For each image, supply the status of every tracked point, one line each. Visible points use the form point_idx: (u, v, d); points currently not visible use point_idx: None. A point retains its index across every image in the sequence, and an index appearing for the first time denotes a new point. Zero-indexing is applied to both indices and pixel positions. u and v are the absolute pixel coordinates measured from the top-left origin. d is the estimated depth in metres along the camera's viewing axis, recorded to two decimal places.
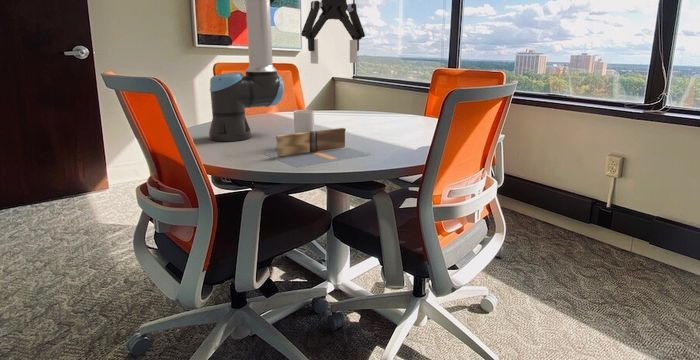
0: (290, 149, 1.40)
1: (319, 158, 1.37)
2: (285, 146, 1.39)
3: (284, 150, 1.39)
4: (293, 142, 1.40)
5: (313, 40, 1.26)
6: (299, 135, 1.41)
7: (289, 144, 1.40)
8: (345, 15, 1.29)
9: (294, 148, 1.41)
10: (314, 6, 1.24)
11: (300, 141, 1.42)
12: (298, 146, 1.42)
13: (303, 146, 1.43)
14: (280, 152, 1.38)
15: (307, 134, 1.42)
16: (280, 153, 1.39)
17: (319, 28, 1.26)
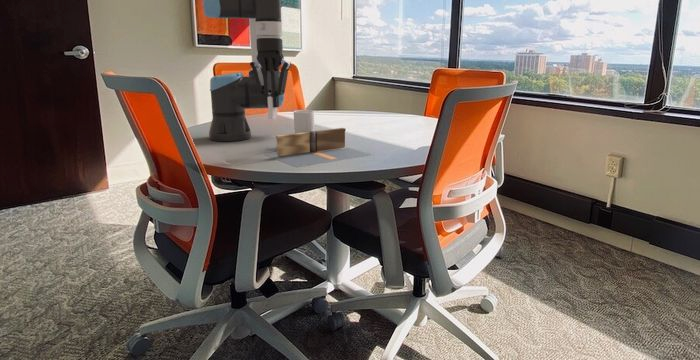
0: (290, 149, 1.40)
1: (319, 158, 1.37)
2: (285, 146, 1.39)
3: (284, 150, 1.39)
4: (293, 142, 1.40)
5: (267, 97, 1.39)
6: (299, 135, 1.41)
7: (289, 144, 1.40)
8: (271, 68, 1.35)
9: (294, 148, 1.41)
10: None
11: (300, 141, 1.42)
12: (298, 146, 1.42)
13: (303, 146, 1.43)
14: (280, 152, 1.38)
15: (307, 134, 1.42)
16: (280, 153, 1.39)
17: (266, 84, 1.38)
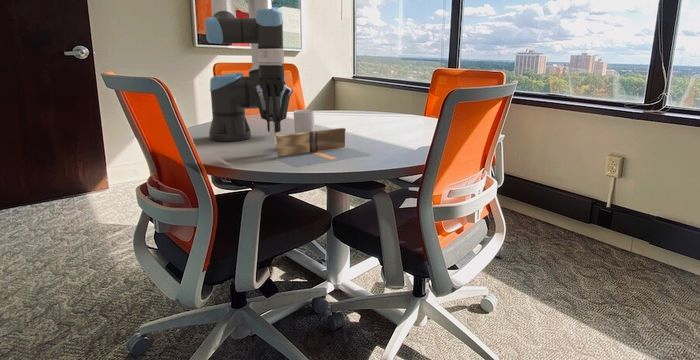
0: (290, 149, 1.40)
1: (319, 158, 1.37)
2: (285, 146, 1.39)
3: (284, 150, 1.39)
4: (293, 142, 1.40)
5: None
6: (299, 135, 1.41)
7: (289, 144, 1.40)
8: (273, 94, 1.37)
9: (294, 148, 1.41)
10: None
11: (300, 141, 1.42)
12: (298, 146, 1.42)
13: (303, 146, 1.43)
14: (280, 152, 1.38)
15: (307, 134, 1.42)
16: (280, 153, 1.39)
17: (267, 110, 1.40)
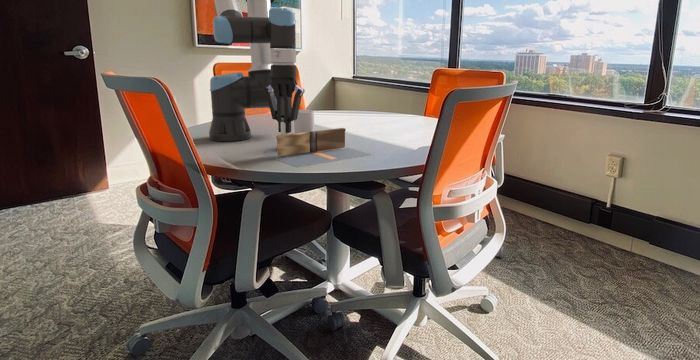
0: (290, 149, 1.40)
1: (319, 158, 1.37)
2: (285, 146, 1.39)
3: (284, 150, 1.39)
4: (293, 142, 1.40)
5: (280, 123, 1.40)
6: (299, 135, 1.41)
7: (289, 144, 1.40)
8: (284, 94, 1.36)
9: (294, 148, 1.41)
10: None
11: (300, 141, 1.42)
12: (298, 146, 1.42)
13: (303, 146, 1.43)
14: (280, 152, 1.38)
15: (307, 134, 1.42)
16: (280, 153, 1.38)
17: (279, 110, 1.38)
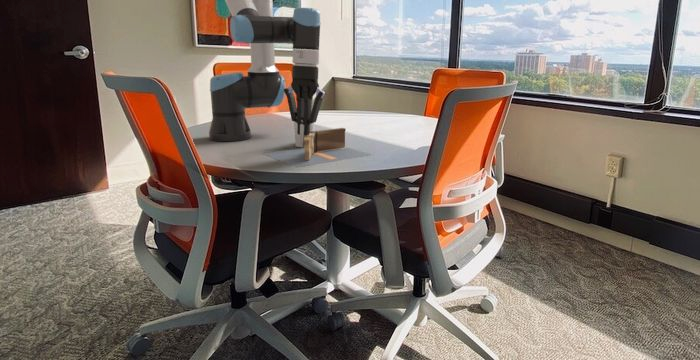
0: (310, 151, 1.38)
1: (319, 158, 1.37)
2: (309, 149, 1.36)
3: (309, 153, 1.36)
4: (311, 144, 1.38)
5: (300, 125, 1.37)
6: (313, 136, 1.39)
7: (310, 146, 1.37)
8: (305, 96, 1.33)
9: (311, 150, 1.39)
10: None
11: (312, 142, 1.40)
12: (312, 147, 1.40)
13: (312, 147, 1.42)
14: (309, 155, 1.34)
15: (314, 134, 1.42)
16: (309, 156, 1.34)
17: (299, 112, 1.35)
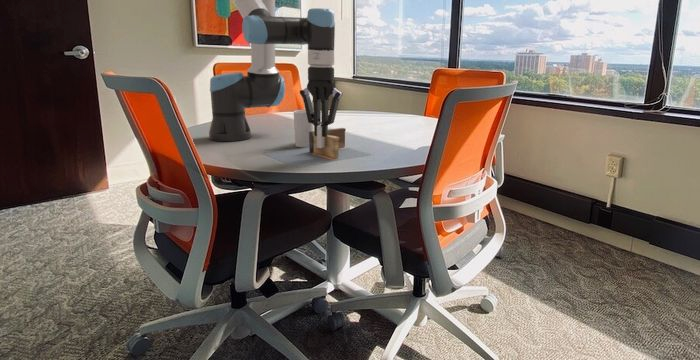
0: None
1: (319, 158, 1.37)
2: None
3: None
4: None
5: (317, 126, 1.36)
6: None
7: None
8: (322, 97, 1.32)
9: None
10: None
11: None
12: None
13: None
14: None
15: None
16: None
17: (315, 113, 1.34)
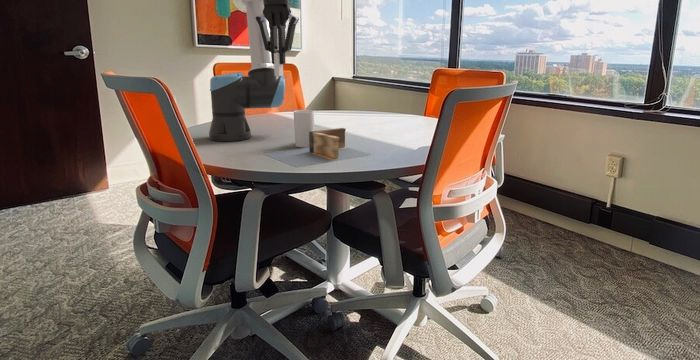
0: None
1: (319, 158, 1.37)
2: None
3: None
4: None
5: (274, 54, 1.35)
6: None
7: None
8: (278, 23, 1.31)
9: None
10: None
11: None
12: None
13: None
14: None
15: None
16: None
17: (272, 40, 1.34)
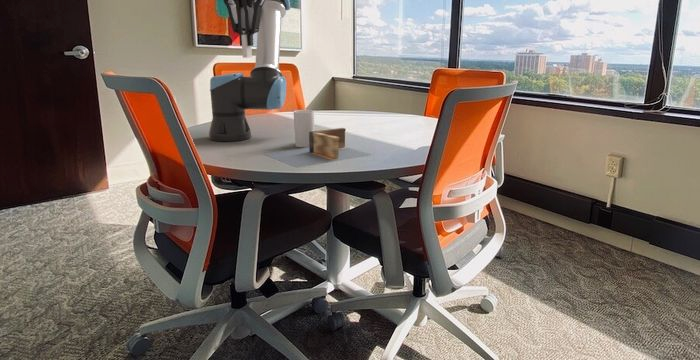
0: None
1: (319, 158, 1.37)
2: None
3: None
4: None
5: (241, 36, 1.37)
6: None
7: None
8: (244, 4, 1.33)
9: None
10: None
11: None
12: None
13: None
14: None
15: None
16: None
17: (239, 21, 1.35)
